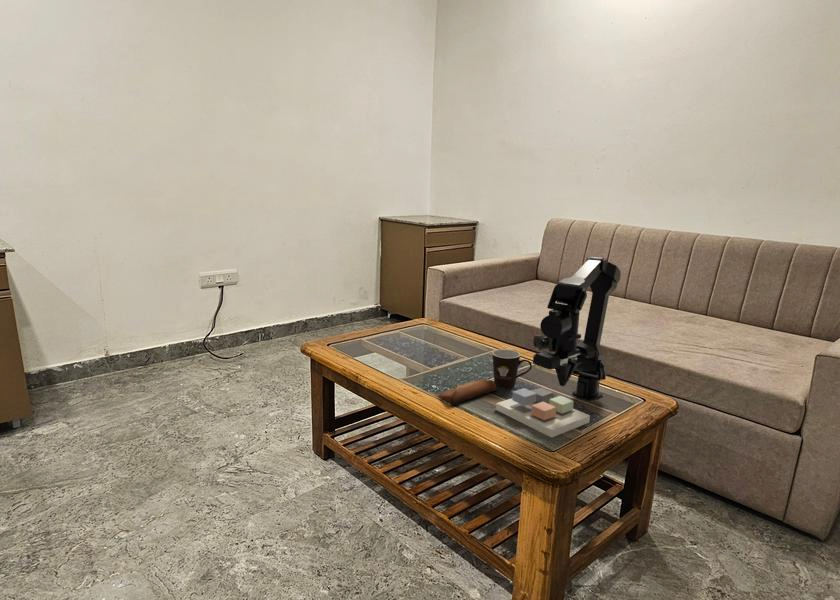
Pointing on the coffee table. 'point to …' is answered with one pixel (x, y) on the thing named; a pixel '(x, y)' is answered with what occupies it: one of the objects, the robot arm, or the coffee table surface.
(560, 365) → the robot arm
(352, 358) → the coffee table surface
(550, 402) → the sage key
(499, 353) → the coffee mug
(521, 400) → the slate key
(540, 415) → the terracotta key
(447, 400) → the sunglasses case
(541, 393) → the charcoal key
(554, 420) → the keypad board
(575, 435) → the coffee table surface
